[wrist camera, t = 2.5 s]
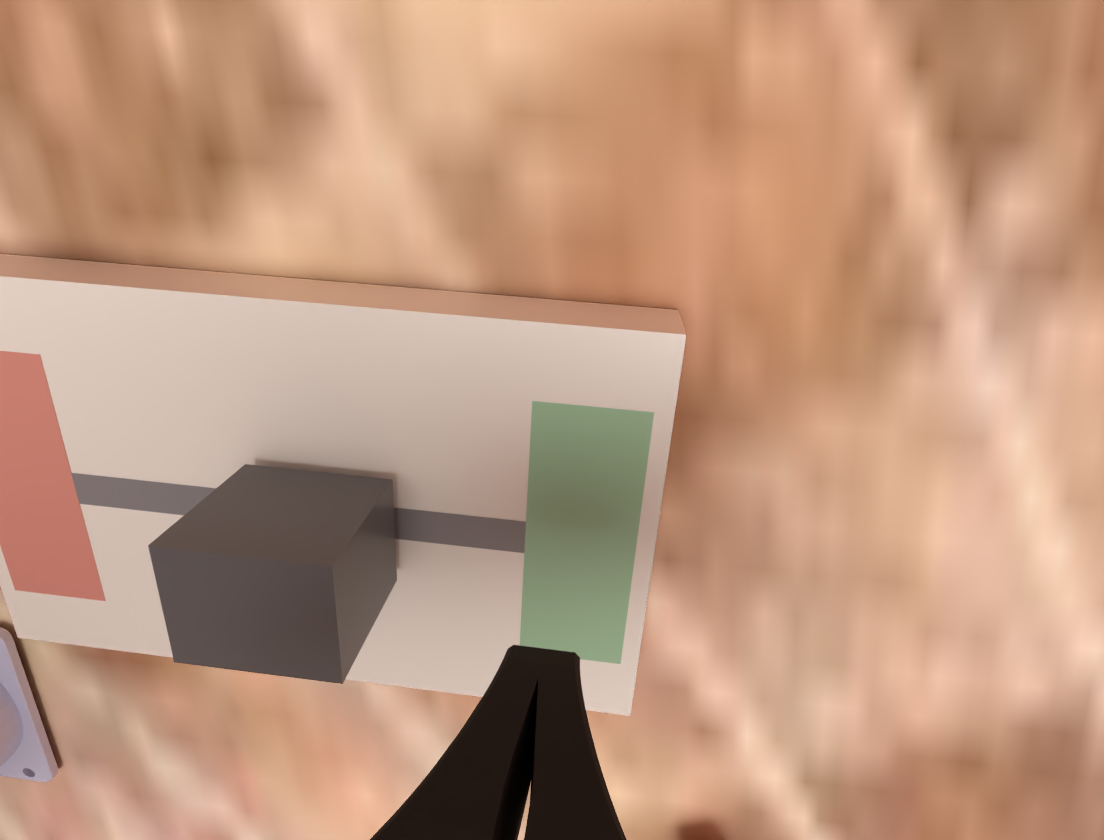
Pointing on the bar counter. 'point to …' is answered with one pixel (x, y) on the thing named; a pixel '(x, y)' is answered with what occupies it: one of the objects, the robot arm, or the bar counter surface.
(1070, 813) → the bar counter surface
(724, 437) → the bar counter surface
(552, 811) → the robot arm
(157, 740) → the bar counter surface
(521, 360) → the switch plate
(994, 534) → the bar counter surface
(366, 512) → the knob
